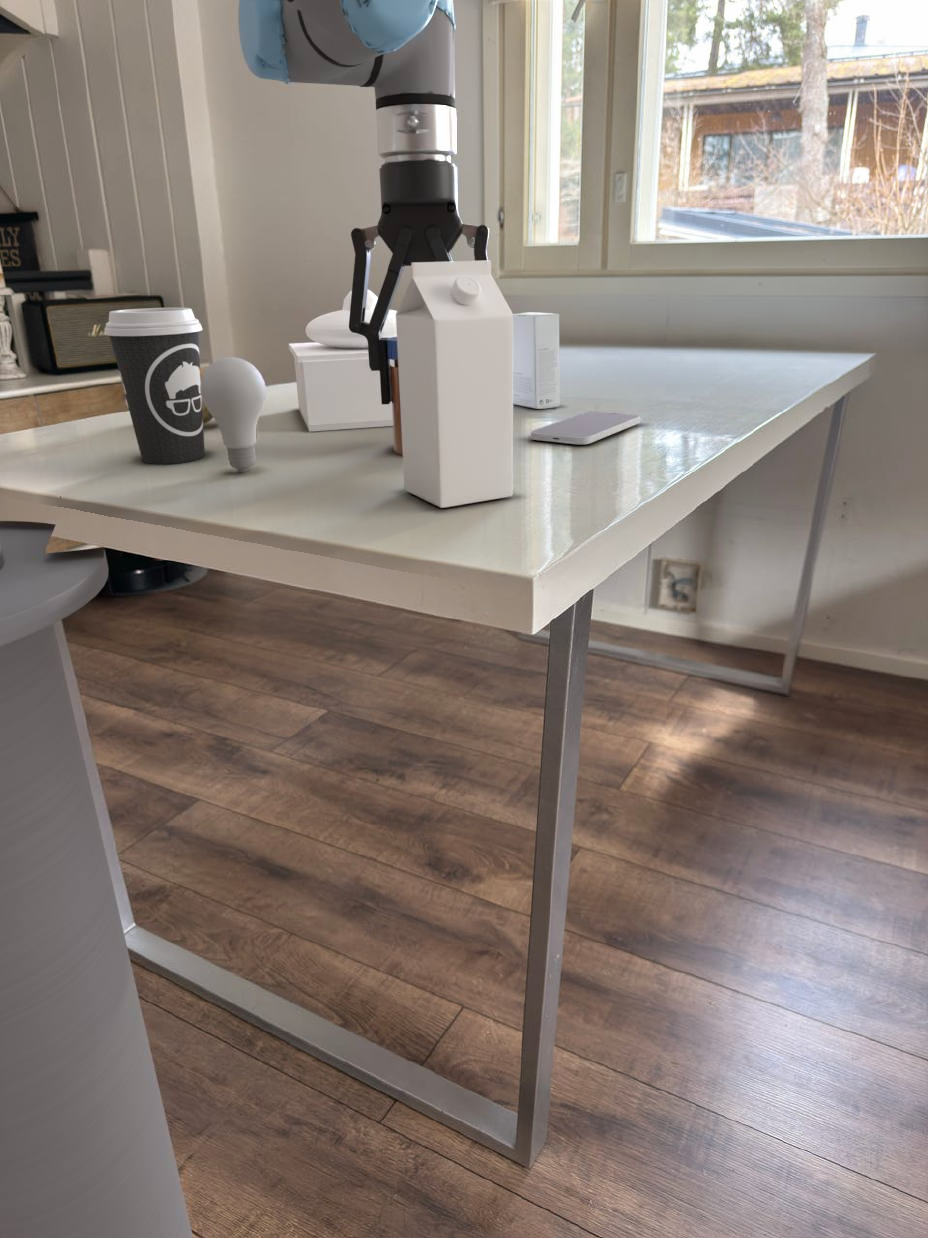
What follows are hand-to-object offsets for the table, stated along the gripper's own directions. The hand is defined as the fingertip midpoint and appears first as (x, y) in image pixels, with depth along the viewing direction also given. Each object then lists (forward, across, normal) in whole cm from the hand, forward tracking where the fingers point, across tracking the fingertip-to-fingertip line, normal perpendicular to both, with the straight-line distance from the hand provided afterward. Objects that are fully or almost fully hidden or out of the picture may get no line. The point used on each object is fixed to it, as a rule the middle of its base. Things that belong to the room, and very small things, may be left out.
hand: (427, 401), depth 92 cm
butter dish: (+5, -10, +22) cm, 25 cm away
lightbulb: (+5, -18, -10) cm, 21 cm away
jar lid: (-6, 0, 0) cm, 6 cm away
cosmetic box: (+5, +12, +28) cm, 31 cm away
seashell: (+5, -32, +17) cm, 37 cm away
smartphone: (+5, +18, +8) cm, 20 cm away
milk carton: (+5, +4, -20) cm, 21 cm away
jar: (+5, 0, 0) cm, 5 cm away
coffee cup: (+5, -27, -3) cm, 28 cm away
